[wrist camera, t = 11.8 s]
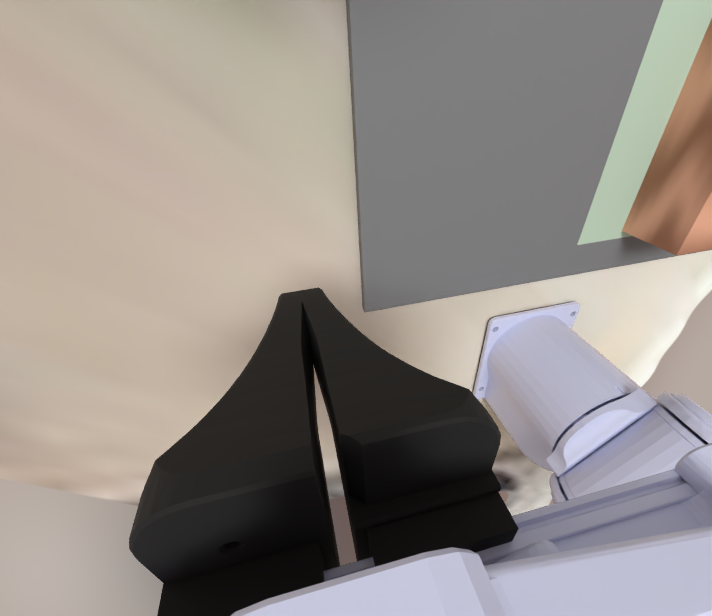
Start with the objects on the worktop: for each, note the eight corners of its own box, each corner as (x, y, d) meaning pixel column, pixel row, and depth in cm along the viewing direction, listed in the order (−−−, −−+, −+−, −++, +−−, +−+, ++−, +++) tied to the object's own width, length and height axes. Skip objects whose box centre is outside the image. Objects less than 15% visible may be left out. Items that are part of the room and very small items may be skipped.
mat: (711, 245, 28) (719, 248, 28) (362, 307, 24) (364, 312, 23) (905, -77, 18) (923, -81, 17) (342, -72, 13) (345, -77, 13)
